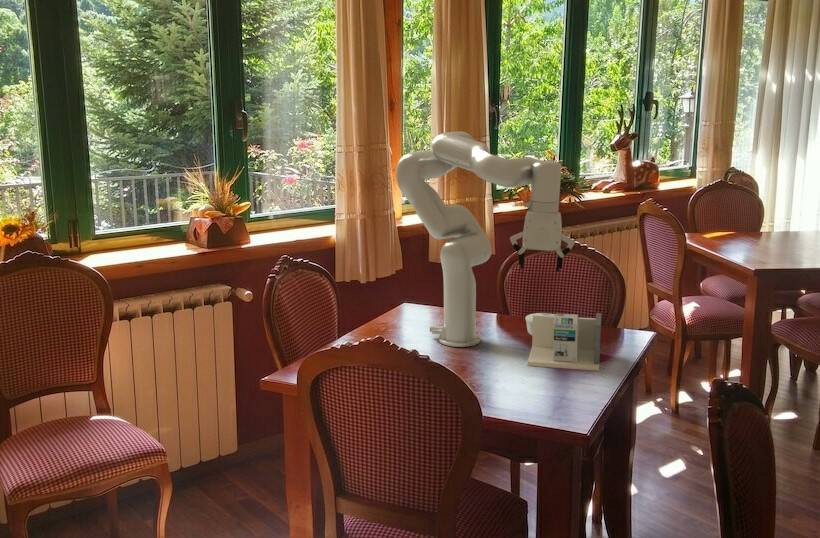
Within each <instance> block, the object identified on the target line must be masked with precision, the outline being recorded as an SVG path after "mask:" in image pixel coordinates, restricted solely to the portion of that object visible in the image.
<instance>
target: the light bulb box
mask: <svg viewBox="0 0 820 538" xmlns="http://www.w3.org/2000/svg"><path fill="white" fill-rule="evenodd" d="M554 315H555V317H554V342H553V361H569V362H577V357H578V318H579V314H571V313H569V314H568V313H556V312H555V314H554Z"/></svg>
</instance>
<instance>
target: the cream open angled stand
mask: <svg viewBox="0 0 820 538" xmlns="http://www.w3.org/2000/svg"><path fill="white" fill-rule="evenodd" d="M554 317H555V316H541V315H533V333H532V335H531V336H532V339H531V340H532V343H531V344H532V345H531V349H530V353H529V355H528V359H527V366H528V367H541V368H557V369H570V370H581V371H582V370H584V371H585V370H586V371H600V364H599V365H598V364H594V350H595V325H596V317H595V318H593V317H578V357H577V362H569V361H553V342H554Z"/></svg>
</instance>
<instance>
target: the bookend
mask: <svg viewBox="0 0 820 538" xmlns="http://www.w3.org/2000/svg"><path fill="white" fill-rule="evenodd" d="M595 318H596V325H595V350H594V364H598V365H599V366H600V353H601V333H602V332H601V331H602V329H601V328H602V313H601V312H600V313H599V312H596V314H595Z"/></svg>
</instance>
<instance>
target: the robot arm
mask: <svg viewBox="0 0 820 538" xmlns="http://www.w3.org/2000/svg"><path fill="white" fill-rule="evenodd" d="M430 148H431V149H429V150H420V151H419V150H417V151H411V152H409V153H406V154H404V155H403V156H402V157H401V158H400V159H399V160H398V162H397V165H396V167H395V178H396V182H397V185H398V189H399V190H400V191H401V193H402V195H403V196H404V197H405V198H406V200H407V201H408V202H409V204H410V206H411V207H412V209H413V210H414V211H415V214H416V215H417V216H418V218H419V219H420V221H421V222H422V224H423V226H424V227H425V229H426V230H427V232H428V233H429V235H431V237H432V238H434V239H436V240H445V239H449V240H447V241H446V242H445V243H444V244H443V245H442V247H441V250H440V263H441V268H442V277H443V278H442V279H443V325H440V326H438V325H430V326H429V332H430V333H431V334H433V335H438V341H439V343H440V344H442V345H444V346H447V347H455V348H464V347H465V348H466V347H471V346H472V347H473V346H476V345H478V344H480V343H481V339H482V338H481V336H480V335H479V334H477V333H476V324H477V323H476V316H477V314H476V313H477V312H476V311H477V310H476V309H477V305H476V304H477V303H476V302H477V299H476V298H477V290H476V288H477V283H476V278H475V275H474V271H473V268H474V267H476V266H478V265H482V264H484V263H486V262H487V261H488V260H489V259H490V257H492V244H491V241H490V240H489V238H488V235H487V234H486V233H485V231H484V230H483V228H482V227H481V226H480V223H478V221H477V219H476V217H475V216H474V215H473V214H472V212H471V211H470V210H469V209H468V208H467V207H466V206H464V205H461V204H450V205H447V204H446V203H445V202H444V201H443V199H442V198H441V196H440V195H439V193H438V192H437V191H436V190H435V188H433V187H432V186H431V185H430V184H429V183H427V181H425V180H429V179H437V178H441V177H443V176H446V175H447V174H449V173H450V172H451V171H453V170H455V169H456V168H461V169H464V170H466V171H469V172H472V173H474V174H475V175H476V177H478V178H480V179H481V180H483V181H485V182H488V183H490V184H494V185H497V186H500V187H502V188H516V187H521V186H524V187H525V186H528V185H529V186H530V185H531V186H530V187H531V188H530V200H529V201H525V202H524V207H525V208H528V209H529V210H527V211H526V214H525V219H524V224H523V231H521V232H519V233H516V234H514V235H512V236H510V237H509V240H510V243H511V245H512V247H513V249H514V250H515V251H516V252H517V253H518V266H520V269H521V270H524V268H525V262H526V261H525V260H526V259H525V258H526V253H525V251H526V250H536V251H547V252H548V251H549V252H556V254H557V257H556V259H557V260H556V270H555V271H556V272H557V273H559V272H560V269H563V259H564V257H565V256H566V255H567V254H569V252H570V251H571V250H572V248H573V247H574V246H575V241H574V240H573V239H571V238H569V236H566V235H565V234H563V232H562V229H563V228H562V225H563V224H562V214H561V212H559V205H560V194H561V193H560V192H561V178H562V177H561V176H562V166H561V165H562V164H561V163H560V162H558V161H554V160H542V159H537V158H533V157H528V156H526V157H525V156H524V157H516V158H504V157H501V156H498V155H496V154H493V153H490V150H489V146H488V145H487V144H486V143H483V142H481V141H477V140H475V139H474V137H473V135H471V134H469V132H465V131H447V132H442V133H440V134H438V135H436V136H435V137H434V138H433V140H432V143H431V145H430ZM450 238H451V239H450ZM521 238H522V246H520V244H518V242H517V240H519V239H521ZM562 241H563V242H564V243H566V244H567V246H566V247H565V248H564V249H562V248H561V246H562Z"/></svg>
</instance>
